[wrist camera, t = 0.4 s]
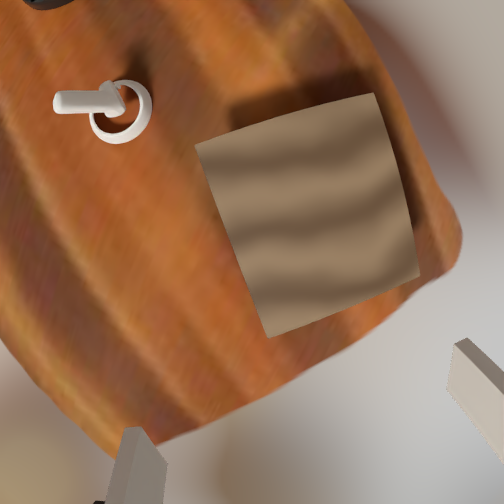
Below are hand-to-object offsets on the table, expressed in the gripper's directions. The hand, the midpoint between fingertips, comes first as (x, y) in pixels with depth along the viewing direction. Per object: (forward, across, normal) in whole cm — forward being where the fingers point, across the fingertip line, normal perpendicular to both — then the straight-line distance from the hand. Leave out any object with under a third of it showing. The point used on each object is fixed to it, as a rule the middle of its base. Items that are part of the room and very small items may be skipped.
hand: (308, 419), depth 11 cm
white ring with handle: (+28, -11, +18) cm, 35 cm away
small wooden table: (+26, +7, +2) cm, 27 cm away
